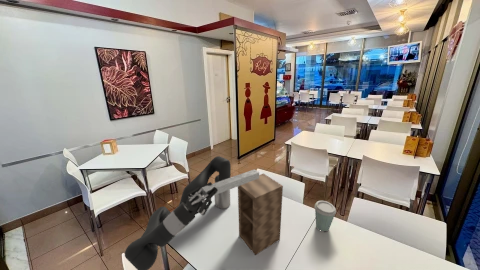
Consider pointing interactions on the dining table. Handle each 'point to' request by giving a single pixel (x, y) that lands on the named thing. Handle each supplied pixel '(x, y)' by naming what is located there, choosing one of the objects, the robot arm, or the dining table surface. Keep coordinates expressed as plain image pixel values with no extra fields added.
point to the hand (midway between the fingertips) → (213, 186)
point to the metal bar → (232, 182)
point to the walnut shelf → (260, 212)
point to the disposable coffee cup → (324, 215)
